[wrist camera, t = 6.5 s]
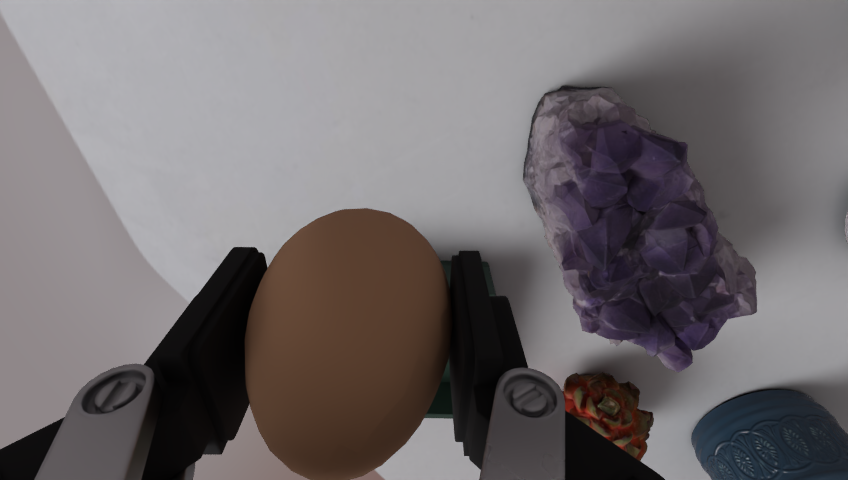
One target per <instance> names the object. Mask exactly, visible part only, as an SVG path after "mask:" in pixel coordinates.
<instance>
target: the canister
mask: <svg viewBox="0 0 848 480" xmlns="http://www.w3.org/2000/svg"><path fill="white" fill-rule="evenodd" d="M691 441H692V445H693V448H694V450H695V453H696V457H697V459H698V461H699V462H700V463H701V466H702V468H703V469H704V470H705V472H707V473H708V474H709V476H710V477H711V479H712V480H848V434H847V433H846V432H845V431H844V430H843V429H842V428H841V427H840V426H839V423H838V421H837V420H836V419H835V418H834V416H832V415H831V414H830V413H829V412H828V411H827V410H826V409H825V408H824V407H823V406H821V405H820V404H818V403H816V402H815V401H814V400H813V399H812V398H810V397H809V396H807V395H805V394H803V393H800V392H796V391H790V390H766V391H760V392H755V393H750V394H747V395H743V396H740V397H737V398H735V399H732V400H730V401H728V402H726V403H724V404H722V405H720V406H718V407H717V408H715V409H713V410H712V411H711V412H709V413H708V414H707V415H706V416H704V417H703V418H702V419H701V420H700V422H699V423H698V424H697V426H696V427H695V429H694V431H693V433H692V438H691Z"/></svg>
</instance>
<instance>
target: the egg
mask: <svg viewBox="0 0 848 480" xmlns="http://www.w3.org/2000/svg"><path fill="white" fill-rule="evenodd" d="M452 327H453V319H452V307H451V295H450V288H449V284H448V280H447V276H446V272H445V270H444V268H443V266H442V264H441V262H440V260H439V258H438V256H437V254H436V252H435V251H434V250H433V248H432V247H431V245H430V244H429V242H428V241H427V240H426V239H425V238H424V237H423V236H422V235H421V234H420V233H419V232H418V231H417V230H416V229H415V228H414V227H413V226H412V225H411V224H409V223H408V222H406V221H404V220H402V219H400V218H399V217H397V216H395V215H393V214H391V213H388V212H382V211H377V210H372V209H367V208H364V209H344V210H340V211H336V212H333V213H330V214H328V215H325V216H323V217H320V218H318V219H316V220H314V221H313V222H311V223H310V224H308V225H306V226H305V227H303V228H302V229H300V230H299V231H298V232H297V233H296V234H294V235H293V236H292V237H291V238H290V239H289V240H288V241H287V242H286V243H285V244H284V245H283V246H282V247H281V249H280V250H279V252H278V253H277V254H276V256H275V257H274V259H273V260H272V262H271V264H270V265H269V267H268V269H267V270H266V272H265V274H264V276H263V278H262V280H261V282H260V284H259V287H258V289H257V292H256V294H255V297H254V299H253V302H252V305H251V308H250V311H249V316H248V322H247V328H246V333H245V378H246V389H247V394H248V398H249V403H250V407H251V410H252V413H253V416H254V418H255V421H256V424H257V427H258V429H259V432H260V434H261V435H262V437H263V439H264V441H265V442H266V444H267V446H268V448H269V450H270V451H271V452H272V453H273V454H274V455H275V456H276V457H277V458H278V459H280V460H281V461H282V462H283V463H284V464H285V465H286V466H287V467H288V468H289V469H290V470H291V471H293V472H295V473H297V474H299V475H301V476H303V477H305V478H308V479H310V480H350V479H354V478H357V477H360V476H363V475H365V474H367V473H368V472H370V471H372V470H374V469H376V468H377V467H379V466H381V465H382V464H384V463H385V462H386V461H387V460H388V459H389V458H390V457H391V456H392V455H393V454H395V453H396V452H397V451H398V450H399V449H400V448H401V447H402V446H403V445H405V444H406V442H407V441H408V440H409V439H410V437H411V436H412V435H413V433H414V432H415V431H416V430H417V428H418V427H419V426H420V424H421V422H422V420H423V419H424V417H425V415H426V413H427V411H428V409H429V407H430V406H431V404H432V402H433V399H434V397H435V395H436V392H437V390H438V388H439V385H440V382H441V380H442V377H443V374H444V371H445V368H446V365H447V362H448V359H449V353H450V344H451V336H452Z"/></svg>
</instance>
